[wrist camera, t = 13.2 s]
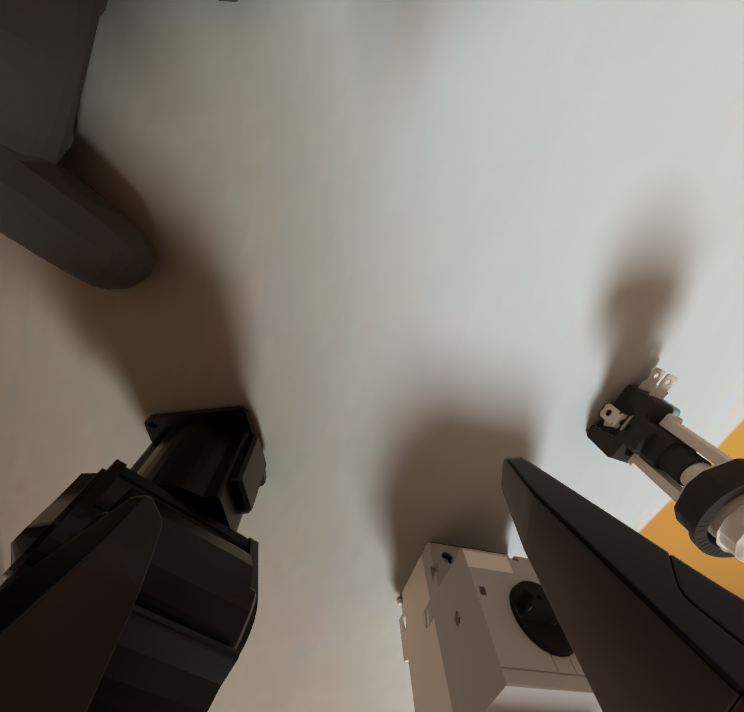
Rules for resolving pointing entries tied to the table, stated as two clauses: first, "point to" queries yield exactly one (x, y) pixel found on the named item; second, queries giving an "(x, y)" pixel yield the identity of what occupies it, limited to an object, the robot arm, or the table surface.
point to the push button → (677, 464)
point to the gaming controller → (57, 147)
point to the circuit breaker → (486, 637)
